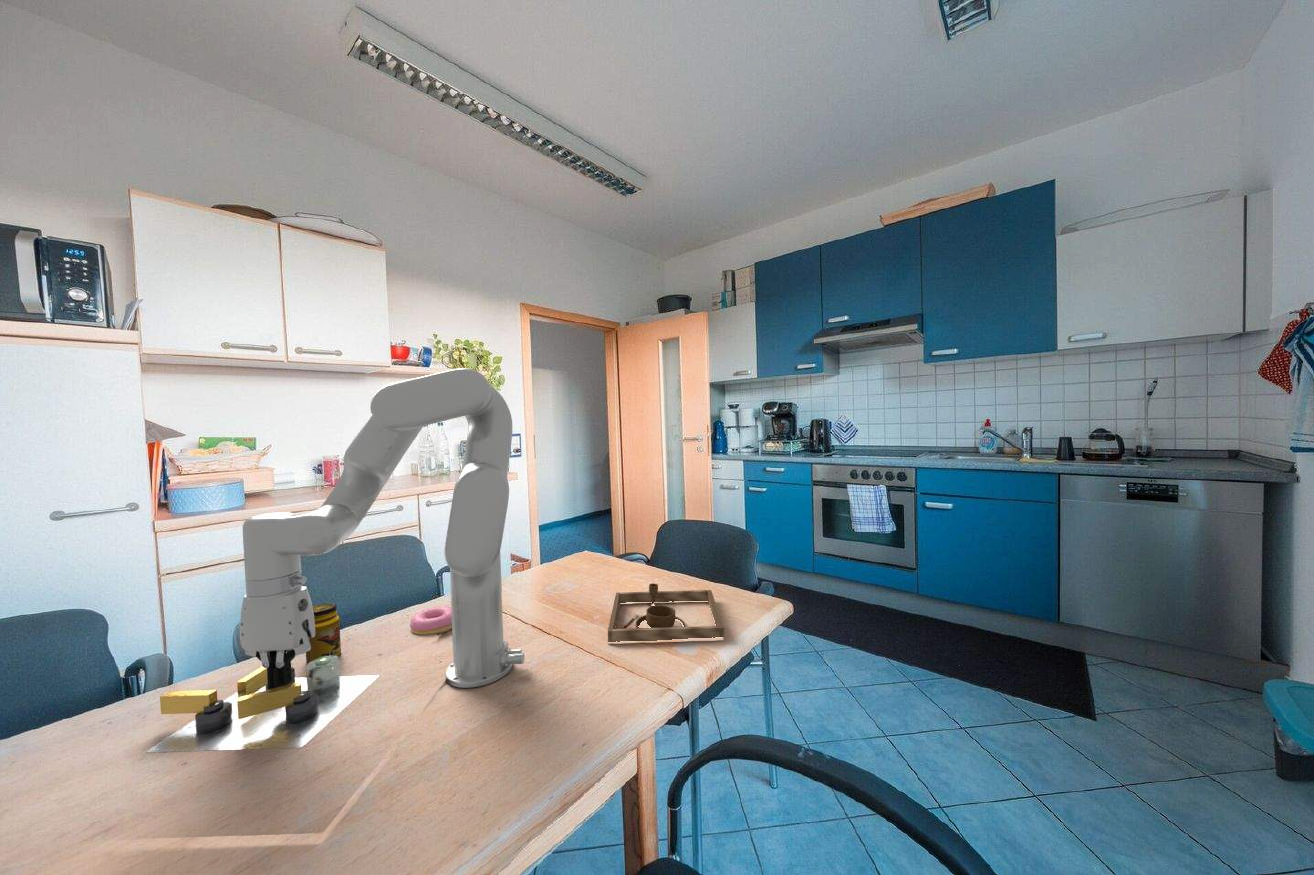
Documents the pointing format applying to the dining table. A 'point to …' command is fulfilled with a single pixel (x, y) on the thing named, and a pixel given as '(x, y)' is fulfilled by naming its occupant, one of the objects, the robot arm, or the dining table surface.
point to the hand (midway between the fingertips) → (280, 685)
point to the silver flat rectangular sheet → (276, 716)
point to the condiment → (325, 633)
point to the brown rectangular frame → (666, 632)
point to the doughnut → (432, 621)
